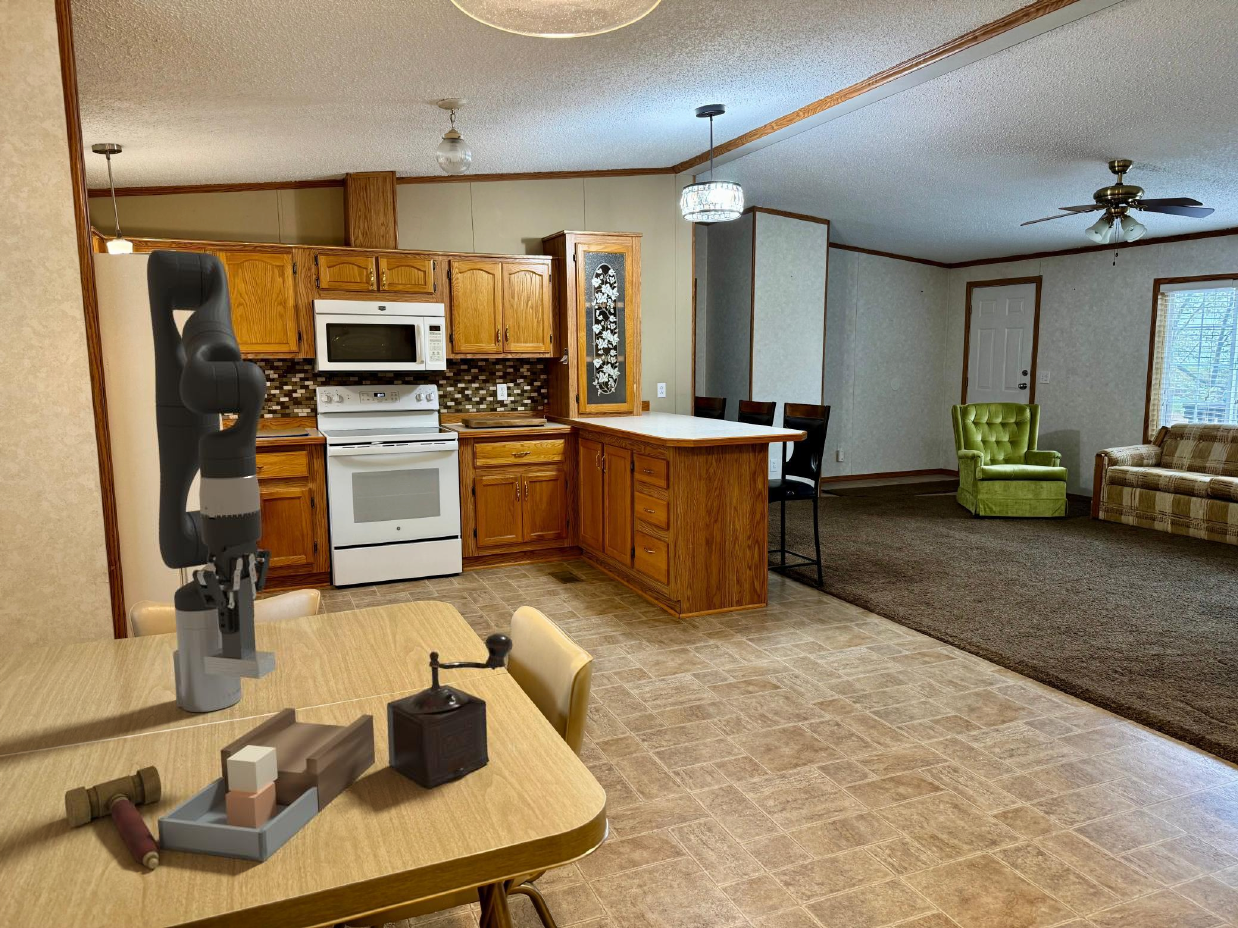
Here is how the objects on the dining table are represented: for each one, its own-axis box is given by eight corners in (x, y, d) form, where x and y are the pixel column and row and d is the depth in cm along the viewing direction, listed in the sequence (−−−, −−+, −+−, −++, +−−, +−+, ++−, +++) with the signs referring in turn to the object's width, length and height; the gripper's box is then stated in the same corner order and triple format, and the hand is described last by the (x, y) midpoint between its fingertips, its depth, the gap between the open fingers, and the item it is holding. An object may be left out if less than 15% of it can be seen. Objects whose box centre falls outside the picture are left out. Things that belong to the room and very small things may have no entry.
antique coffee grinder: (429, 792, 111) (424, 661, 109) (386, 765, 118) (381, 643, 116) (521, 753, 122) (518, 633, 120) (476, 731, 129) (472, 618, 127)
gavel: (201, 829, 97) (102, 865, 90) (202, 865, 98) (104, 903, 91) (151, 759, 112) (63, 785, 105) (153, 791, 113) (65, 818, 106)
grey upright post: (205, 673, 116) (199, 579, 115) (222, 664, 120) (217, 572, 118) (259, 678, 115) (253, 583, 113) (275, 669, 118) (270, 576, 116)
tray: (159, 847, 98) (157, 819, 98) (222, 802, 109) (220, 776, 108) (264, 861, 95) (262, 832, 95) (318, 813, 106) (316, 786, 105)
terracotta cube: (248, 809, 106) (227, 825, 102) (246, 779, 105) (225, 794, 102) (276, 812, 105) (256, 829, 101) (274, 782, 105) (254, 797, 101)
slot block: (223, 801, 109) (220, 749, 108) (288, 753, 123) (285, 707, 122) (319, 811, 106) (316, 759, 105) (375, 761, 119) (372, 715, 119)
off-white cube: (228, 790, 103) (226, 759, 102) (250, 774, 107) (248, 744, 106) (257, 793, 102) (255, 762, 101) (277, 777, 106) (275, 747, 105)
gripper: (240, 498, 122) (246, 612, 124) (169, 515, 108) (177, 643, 111) (286, 500, 120) (291, 616, 122) (219, 518, 107) (226, 648, 109)
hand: (237, 628), depth 117 cm, fingers closed on grey upright post, 3 cm apart
